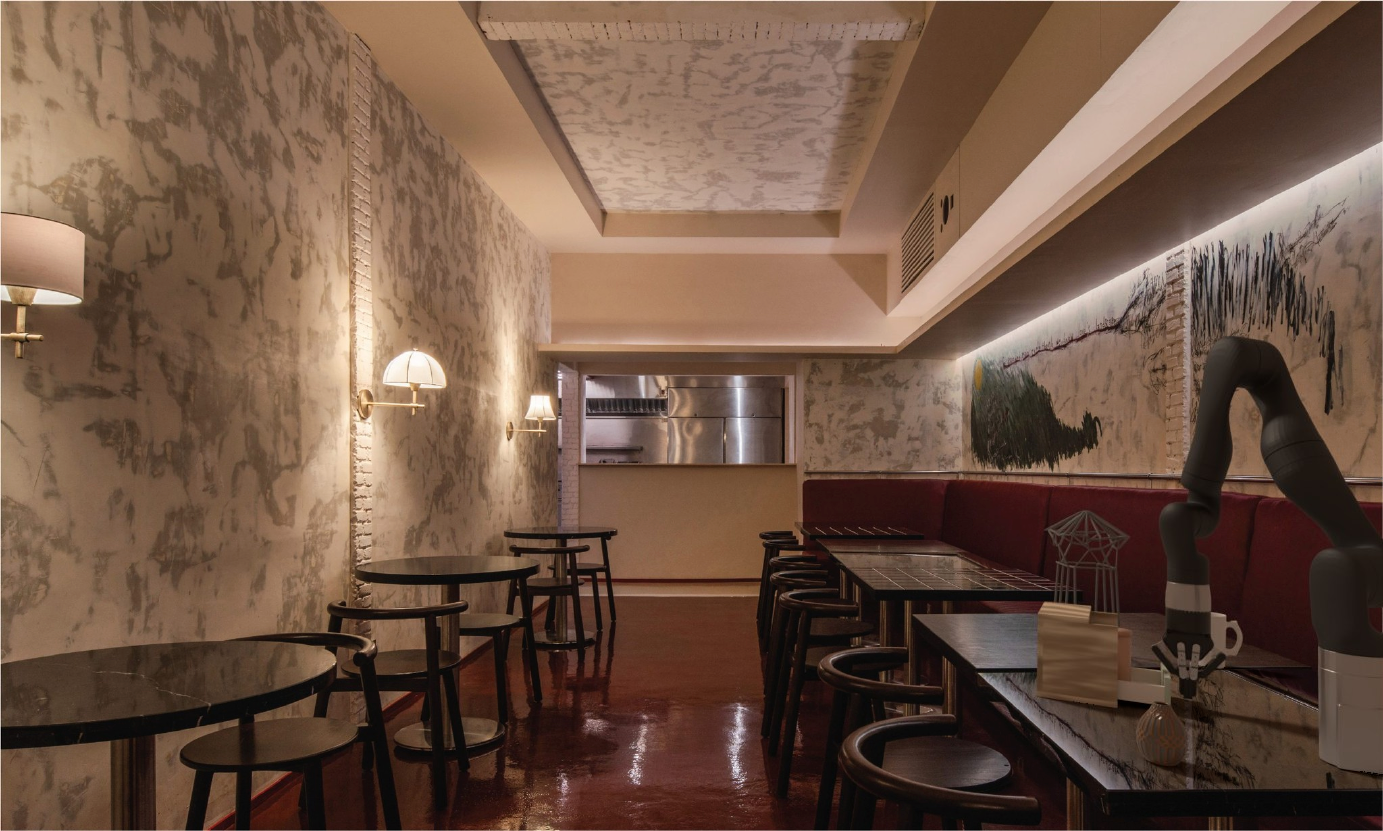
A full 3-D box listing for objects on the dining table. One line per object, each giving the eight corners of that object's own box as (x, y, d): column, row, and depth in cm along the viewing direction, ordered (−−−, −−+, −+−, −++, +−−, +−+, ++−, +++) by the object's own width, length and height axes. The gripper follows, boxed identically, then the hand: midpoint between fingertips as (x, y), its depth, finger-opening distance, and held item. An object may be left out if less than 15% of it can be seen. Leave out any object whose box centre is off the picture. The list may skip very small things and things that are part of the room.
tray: (1170, 711, 155) (1170, 678, 155) (1090, 700, 161) (1090, 668, 161) (1166, 693, 168) (1166, 662, 169) (1092, 683, 174) (1092, 654, 175)
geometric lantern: (1105, 650, 211) (1106, 510, 213) (1132, 665, 195) (1133, 513, 197) (1040, 647, 212) (1042, 507, 214) (1061, 661, 197) (1063, 510, 199)
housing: (1117, 708, 158) (1117, 621, 159) (1036, 696, 164) (1037, 613, 165) (1117, 687, 174) (1117, 608, 175) (1043, 677, 180) (1044, 601, 181)
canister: (1131, 690, 162) (1132, 633, 163) (1099, 685, 165) (1099, 629, 165) (1132, 684, 167) (1132, 629, 168) (1100, 680, 170) (1101, 625, 170)
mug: (1195, 666, 196) (1195, 614, 197) (1190, 660, 202) (1190, 610, 203) (1246, 672, 192) (1245, 619, 193) (1239, 666, 198) (1239, 614, 199)
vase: (1170, 754, 132) (1170, 697, 132) (1198, 770, 125) (1198, 710, 125) (1126, 753, 132) (1127, 696, 132) (1152, 769, 125) (1152, 709, 125)
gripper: (1149, 605, 161) (1148, 697, 160) (1230, 613, 155) (1230, 708, 154) (1148, 600, 168) (1147, 688, 167) (1226, 607, 162) (1226, 699, 161)
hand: (1187, 698), depth 161 cm, fingers closed
